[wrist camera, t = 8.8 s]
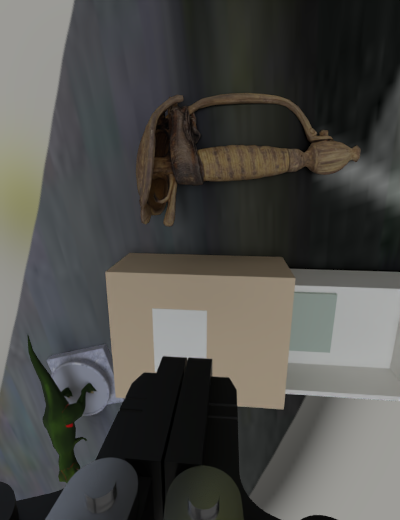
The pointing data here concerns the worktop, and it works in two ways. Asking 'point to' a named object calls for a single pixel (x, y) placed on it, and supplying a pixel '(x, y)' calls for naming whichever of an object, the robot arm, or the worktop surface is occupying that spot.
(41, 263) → the worktop surface
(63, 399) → the dinosaur figurine
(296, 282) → the tray
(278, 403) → the sleeve
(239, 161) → the sword hilt
